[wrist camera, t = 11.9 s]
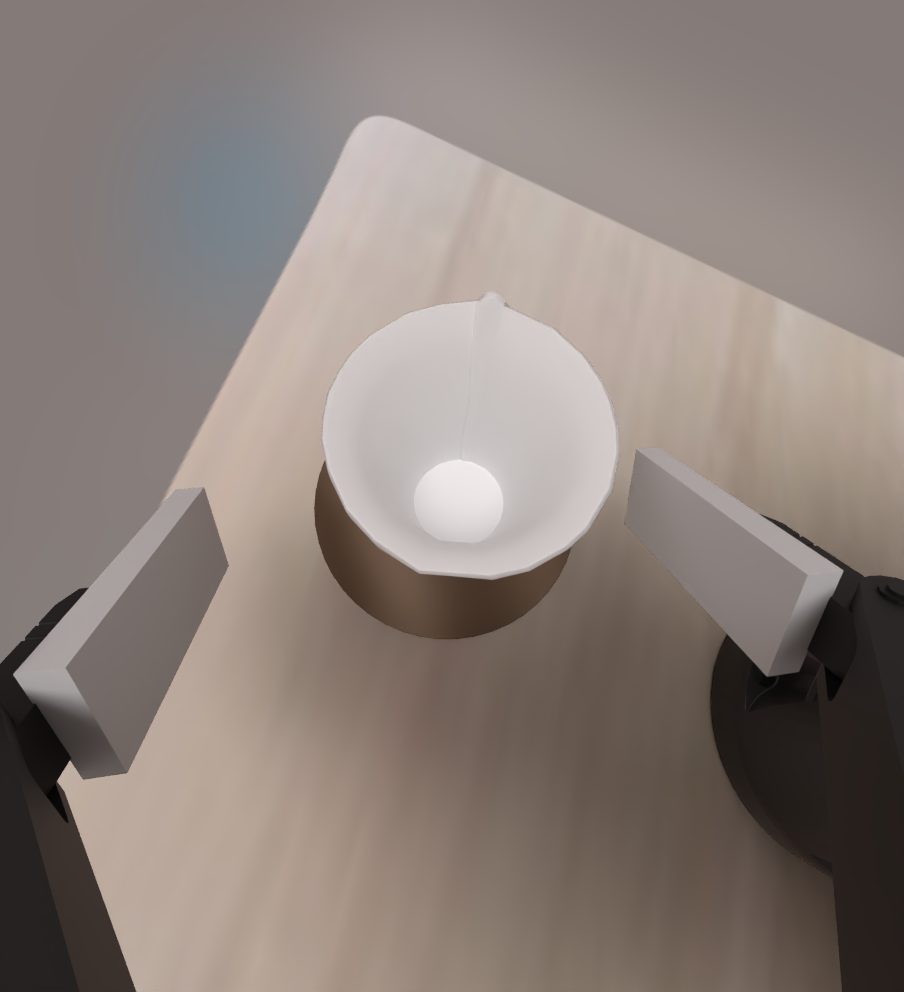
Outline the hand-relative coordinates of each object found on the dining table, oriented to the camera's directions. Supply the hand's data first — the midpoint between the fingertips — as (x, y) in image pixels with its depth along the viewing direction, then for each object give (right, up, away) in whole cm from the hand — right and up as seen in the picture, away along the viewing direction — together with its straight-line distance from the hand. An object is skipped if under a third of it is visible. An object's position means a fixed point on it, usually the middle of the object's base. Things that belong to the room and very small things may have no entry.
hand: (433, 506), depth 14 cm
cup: (0, 0, +9) cm, 9 cm away
